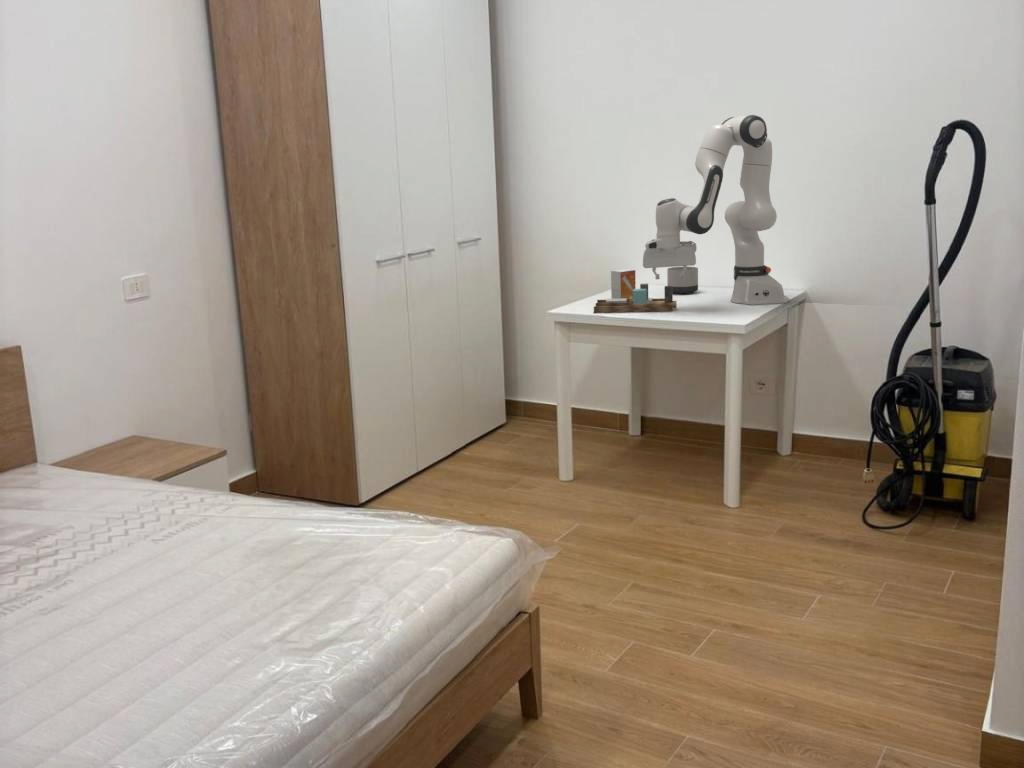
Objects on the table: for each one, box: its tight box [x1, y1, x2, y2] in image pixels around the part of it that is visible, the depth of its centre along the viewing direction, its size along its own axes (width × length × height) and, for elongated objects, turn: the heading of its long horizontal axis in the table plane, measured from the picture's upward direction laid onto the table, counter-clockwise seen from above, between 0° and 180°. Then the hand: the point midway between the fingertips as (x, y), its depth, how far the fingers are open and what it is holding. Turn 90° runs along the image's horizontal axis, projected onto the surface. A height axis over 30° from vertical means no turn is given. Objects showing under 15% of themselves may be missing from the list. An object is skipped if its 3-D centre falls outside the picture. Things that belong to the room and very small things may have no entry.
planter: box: [666, 266, 699, 295], centre depth 417 cm, size 13×13×10 cm
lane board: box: [593, 297, 673, 314], centre depth 385 cm, size 30×17×2 cm, turn 80°
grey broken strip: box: [605, 283, 653, 303], centre depth 389 cm, size 18×6×8 cm, turn 80°
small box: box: [610, 268, 637, 299], centre depth 402 cm, size 8×6×13 cm
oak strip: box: [629, 285, 678, 309], centre depth 379 cm, size 18×6×8 cm, turn 80°
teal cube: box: [633, 288, 647, 304], centre depth 380 cm, size 5×5×5 cm
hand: (670, 278), depth 377 cm, fingers open, 8 cm apart
